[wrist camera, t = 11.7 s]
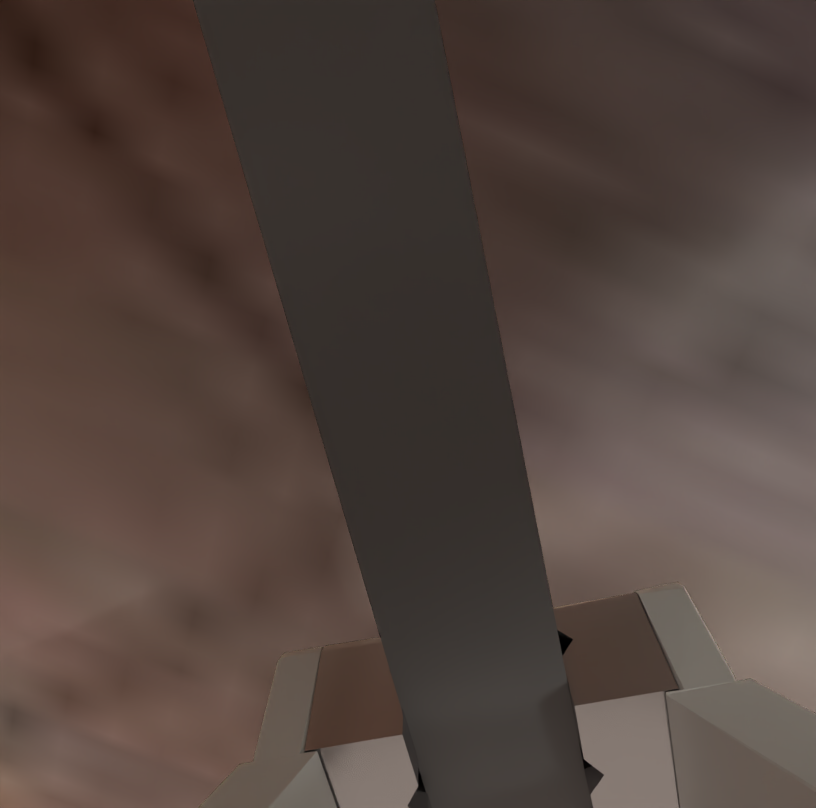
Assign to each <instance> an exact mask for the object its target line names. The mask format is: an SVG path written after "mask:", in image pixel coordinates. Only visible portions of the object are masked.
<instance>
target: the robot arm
mask: <svg viewBox="0 0 816 808" xmlns="http://www.w3.org/2000/svg"><path fill="white" fill-rule="evenodd" d="M553 611H554V616H555V621H556V626H557V631H558V636H559V642H560V647H561V652H562V657H563V662H564V667H565V672H566V678H567V683H568V688H569V693H570V698H571V703H572V708H573V714H574V719H575V724H576V729H577V735H578V739H579V744H580V750H581V755H582V760H583V765H584V772H585V777H586V782H587V787H588V792H589V797H590V802H591V807H592V808H816V713H814V712H812V711H810V710H808V709H806V708H805V707H803V706H801V705H799V704H797V703H795V702H794V701H792V700H790V699H788V698H786V697H784V696H783V695H781V694H779V693H777V692H775V691H773V690H772V689H770V688H768V687H766V686H764V685H762V684H761V683H759V682H757V681H755V680H753V679H745V680H739V681H737V680H736V678H735V676H734V674H733V672H732V671H731V669H730V667H729V665H728V663H727V662H726V660H725V658H724V656H723V655H722V653H721V651H720V649H719V647H718V646H717V644H716V642H715V640H714V638H713V637H712V635H711V633H710V631H709V629H708V628H707V626H706V624H705V622H704V621H703V619H702V617H701V615H700V613H699V612H698V610H697V608H696V606H695V604H694V603H693V601H692V599H691V597H690V595H689V594H688V592H687V590H686V588H685V586H684V585H682V584H680V583H679V582H674V583H670V584H665V585H660V586H655V587H650V588H645V589H641V590H636V591H634V593H628V594H623V595H618V596H612V597H607V598H601V599H596V600H590V601H585V602H579V603H574V604H568V605H563V606H558V607H553ZM198 808H432V806H431V803H430V799H429V796H428V793H426V791H425V788H424V784H423V781H422V777H421V774H420V771H419V767H418V757H417V754H416V751H415V747H414V744H413V740H412V737H411V734H410V730H409V727H408V724H407V720H406V717H405V714H404V710H403V709H401V706H400V703H399V699H398V696H397V692H396V689H395V686H394V682H393V679H392V675H391V672H390V669H389V665H388V662H387V658H386V655H385V652H384V648H383V645H382V641H381V638H380V637H377V638H371V639H364V640H358V641H351V642H345V643H339V644H332V645H326V646H325V647H315V648H310V649H304V650H298V651H292V652H286V653H284V654H283V655H282V656H281V657H280V659H279V660H278V662H277V665H276V669H275V673H274V677H273V681H272V686H271V690H270V694H269V698H268V702H267V706H266V710H265V714H264V718H263V722H262V726H261V730H260V734H259V738H258V742H257V746H256V750H255V754H254V758H253V762H247V763H242V764H239V765H238V766H237V767H236V768H235V770H234V771H233V772H232V773H231V774H230V775H229V776H228V777H227V778H226V779H225V780H224V781H223V782H222V783H221V784H220V785H219V786H218V787H217V788H216V789H215V791H214V792H213V793H212V794H211V795H210V796H209V797H208V798H207V799H206V800H205V801H204V802H203V803H202V804H201V805H200V806H199V807H198Z"/></svg>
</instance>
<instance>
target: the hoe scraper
mask: <svg viewBox="0 0 816 808" xmlns="http://www.w3.org/2000/svg"><path fill="white" fill-rule="evenodd" d="M193 2H194V6H195V9H196V12H197V16H198V19H199V23H200V26H201V29H202V33H203V36H204V40H205V43H206V46H207V50H208V53H209V57H210V60H211V63H212V67H213V70H214V74H215V77H216V80H217V84H218V87H219V91H220V94H221V97H222V101H223V104H224V108H225V111H226V114H227V118H228V121H229V125H230V128H231V131H232V135H233V138H234V142H235V145H236V148H237V152H238V155H239V159H240V162H241V165H242V169H243V172H244V176H245V179H246V182H247V186H248V189H249V193H250V196H251V199H252V203H253V206H254V210H255V213H256V216H257V220H258V223H259V227H260V230H261V233H262V237H263V240H264V244H265V247H266V250H267V254H268V257H269V261H270V264H271V267H272V271H273V274H274V278H275V281H276V284H277V288H278V291H279V295H280V298H281V301H282V305H283V308H284V312H285V315H286V318H287V322H288V325H289V329H290V332H291V335H292V339H293V342H294V346H295V349H296V352H297V356H298V359H299V363H300V366H301V369H302V373H303V376H304V380H305V383H306V386H307V390H308V393H309V397H310V400H311V403H312V407H313V410H314V414H315V417H316V420H317V424H318V427H319V431H320V434H321V437H322V441H323V444H324V448H325V451H326V454H327V458H328V461H329V465H330V468H331V471H332V475H333V478H334V482H335V485H336V488H337V492H338V495H339V499H340V502H341V505H342V509H343V512H344V516H345V519H346V522H347V526H348V529H349V533H350V536H351V539H352V543H353V546H354V550H355V553H356V556H357V560H358V563H359V567H360V570H361V573H362V577H363V580H364V584H365V587H366V590H367V594H368V597H369V601H370V604H371V607H372V611H373V614H374V618H375V621H376V624H377V628H378V631H379V635H380V638H381V641H382V645H383V648H384V652H385V655H386V658H387V662H388V665H389V669H390V672H391V675H392V679H393V682H394V686H395V689H396V692H397V696H398V699H399V703H400V706H401V709H403V710H404V714H405V717H406V720H407V724H408V727H409V730H410V734H411V737H412V740H413V744H414V747H415V751H416V754H417V757H418V767H419V771H420V774H421V777H422V781H423V784H424V788H425V791H426V793H428V796H429V799H430V803H431V806H432V808H592V807H591V802H590V797H589V792H588V787H587V782H586V777H585V772H584V765H583V760H582V755H581V750H580V744H579V739H578V735H577V729H576V724H575V719H574V714H573V708H572V703H571V698H570V693H569V688H568V683H567V678H566V672H565V667H564V662H563V657H562V652H561V647H560V642H559V636H558V631H557V626H556V621H555V616H554V611H553V606H552V600H551V595H550V590H549V585H548V580H547V575H546V570H545V564H544V559H543V554H542V549H541V544H540V539H539V534H538V528H537V523H536V518H535V513H534V508H533V503H532V498H531V492H530V487H529V482H528V477H527V472H526V467H525V462H524V456H523V451H522V446H521V441H520V436H519V431H518V426H517V420H516V415H515V410H514V405H513V400H512V395H511V390H510V384H509V379H508V374H507V369H506V364H505V359H504V354H503V348H502V343H501V338H500V333H499V328H498V323H497V318H496V312H495V307H494V302H493V297H492V292H491V287H490V282H489V276H488V271H487V266H486V261H485V256H484V251H483V246H482V240H481V235H480V230H479V225H478V220H477V215H476V210H475V204H474V199H473V194H472V189H471V184H470V179H469V174H468V168H467V163H466V158H465V153H464V148H463V143H462V138H461V132H460V127H459V122H458V117H457V112H456V107H455V102H454V96H453V91H452V86H451V81H450V76H449V71H448V66H447V60H446V55H445V50H444V45H443V40H442V35H441V30H440V24H439V19H438V14H437V9H436V4H435V0H193Z"/></svg>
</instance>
